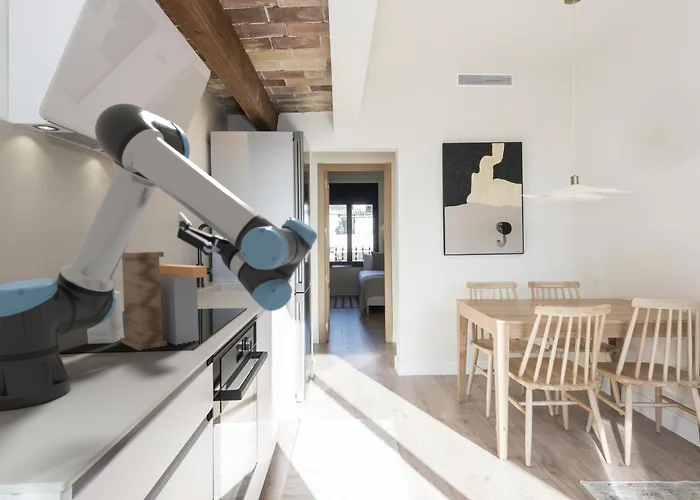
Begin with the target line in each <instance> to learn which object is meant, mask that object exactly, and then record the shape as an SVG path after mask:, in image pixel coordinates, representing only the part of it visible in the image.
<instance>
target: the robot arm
mask: <svg viewBox="0 0 700 500" xmlns="http://www.w3.org/2000/svg"><path fill="white" fill-rule="evenodd" d="M94 134H95V138H96V142H97V144H98V145H99V147H100V149H101V150H102V151H103V152H104V153H105V154H106V155H107V156H108V157H110V158H111V159H112V164H113V166H114V169H115V173H114V175H113V177H112V180H111V182H110V184H109V186H108V188H107V190H106V192H105V195H104V197H103V198H102V201H101V203H100V205H99V207H98V209H97V211H96V213H95V215H94V217H93V219H92V221H91V224H90V225H89V228H88V230H87V233H86V235H85V236H84V239H83V241H82V243H81V245H80V246H79V247H80V248H79V249H78V251H77V254H76V255H75V258H74V259H73V261H72V263H71V264H67V265H64V266H63V267H61V269H60V271H59V273H58V275H57V278H56V279H55V280H54V279H52V278H32V279H25V280H17V281H11V282H6V283H3V284H0V411H4V410H12V409H13V410H14V409H20V408H26V407H31V406H34V405H39V404H42V403H46V402H49V401H52V400H55V399H57V398H59V397H60V398H61V397H62V396H63V395H65V394H67V393H69V391H70V390H71V378H70V375H69V373H68V370H67V369H66V366H65V363H64V362H63V359H62V357H61V356H60V346H59V345H60V344H59V342H60V341H59V337H61V336H64V335H68V334H69V335H70V334H72V333H73V334H74V333H76V332H79V331H87V329H89V328H92V327H95V326H96V325H99V324H101V323H103V322H104V321H106V320H107V319H108V318H109V317H110V316H111V314H112V313H113V311H114V308H115V305H116V298H115V296H114V294H115V291H116V290H115V288H116V282H115V280H114V278H113V275H114V274H115V272H116V270H117V267H118V265H119V263H120V261H121V260H122V255H123V253H124V252H126V249H127V248H128V245H129V244H130V241H131V240H132V239H131V238H132V237H133V235H134V233H135V230H136V229H137V226H138V225H139V224H140V221H141V219H142V217H143V214H144V213H145V210H146V208H147V207H148V204H149V203H150V200H151V198H152V197H153V194H154V192H155V191H156V189H157V188H159V189H160V190H161V191H163V193H165V194H166V195H168V196H169V197H171V198H172V199H173V200H174V201H176V202H177V203H178V204H179V205H181V206H182V207H184V208H185V209H186V210H187V211H189V212H190V213H191V214H192V215H194V216H195V217H197V219H199V220H200V221H202V222H203V223H204V224H205V225H207V226H209V227H210V228H211V229H212V230H213V231H215V232H216V233H217V234H214V235H213V234H212V233H211V234H210V233H208V232H205V231H203V230H200V229H198V228H196V227H193V224H192V223H191V221H190V220H189V218H187V216H186V215H185V214H184V213H183V212H181V211H179V212H178V215H177V220H176V224H178V231H177V235H176V238H177V239H179V240H182V241H183V242H185V243H187V244H189V245H190V246H192V247H194V248H195V249H197V250H199V251H201V252H202V253H203V254H204V255H205V256H208V257H209V256H211V253H217V254H218V255H220V257H221V260H222V263H223V264H224V265H225V266H226V268H228V270H229V271H230V272H231V273H232V274H233V276H234V277H235V278H236V279H237V280H238V282H240V283H241V285H242V286H243V287H244V289H245V290H246V291H247V292H248V293H249V294H250V296H251V297H252V299H253V300H254V302H256V304H258V305H259V306H260V307H261V308H262V309H263V310H265V311H269V312H275V311H277V310H280V309H282V308H284V307H285V306H286V305H287V304H288V303H289V301H290V300H291V297H292V293H293V287H292V286H291V284H290V282H289V281H290V280H291V279H292V276H293V275H294V273H295V272H296V270H297V269H298V267H299V266H300V264H301V263H302V261H303V260H304V259H305V258H306V256H307V254H308V253H309V251H310V250H312V247H313V245H314V243H315V242H316V240H317V238H318V233H317V232H316V231H315V230H314V229H313V228H312V227H311V226H309V225H308V224H307V223H305V222H304V221H302V220H301V219H298V218H297V217H294V216H291V217H288V218H287V219H286V221H285V222H284V224H282V225H281V227H280V228H279V227H278V226H276V225H274V224H273V223H272V222H271V221H269V220H268V219H267V218H265V217H264V216H263V215H261V214H260V213H259V212H257V211H256V210H255V209H253V208H252V206H251V207H250V206H249V205H248V204H247V203H246V202H244V201H243V200H241V199H240V198H239V197H237V196H236V195H235V194H234V193H233V192H231V191H230V190H228V188H226V187H224V186H223V185H222V184H221V183H219V182H218V181H217V180H215V179H214V178H213V177H211V176H210V175H208V173H206V172H205V171H204V170H202V169H201V168H199V167H198V166H197V165H196V164H194V163H193V162H192V161H191V160H189V158H190V154H191V153H190V150H191V149H190V142H189V140H188V137H187V134H186V133H185V132H184V131H183V130H182V128H181V127H179V126H178V125H176V124H175V123H174V122H172V121H171V120H169V119H167V118H164V117H162V116H160V115H158V114H156V113H154V112H150V111H148V110H146V109H145V108H142V107H140V106H139V105H134V104H132V103H117V104H113V105H111V106H109V107H107V108H105V109H104V110H103V111H102V112H101V113H100V114H99V115H98V118H97V119H96V122H95V126H94ZM218 234H219V235H218Z"/></svg>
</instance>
